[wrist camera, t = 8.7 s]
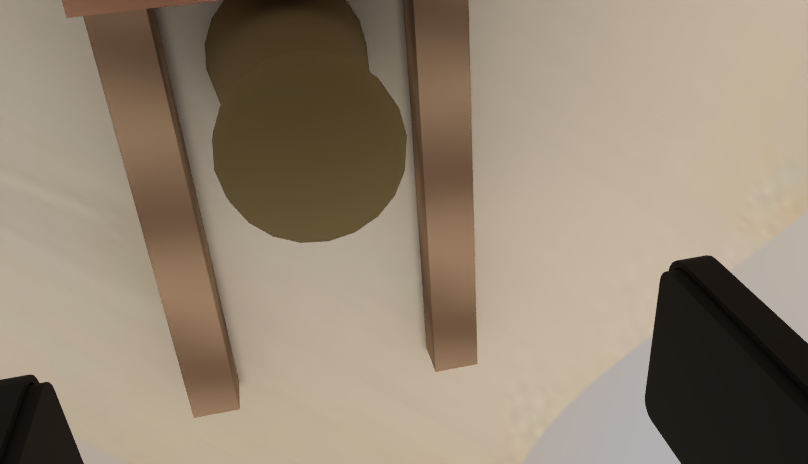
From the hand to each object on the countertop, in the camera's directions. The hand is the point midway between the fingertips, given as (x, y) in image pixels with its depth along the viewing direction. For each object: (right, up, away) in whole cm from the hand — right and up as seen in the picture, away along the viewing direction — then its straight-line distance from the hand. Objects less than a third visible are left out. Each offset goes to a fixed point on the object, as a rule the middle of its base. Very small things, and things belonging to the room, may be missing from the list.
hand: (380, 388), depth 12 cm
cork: (-4, +9, +17) cm, 20 cm away
